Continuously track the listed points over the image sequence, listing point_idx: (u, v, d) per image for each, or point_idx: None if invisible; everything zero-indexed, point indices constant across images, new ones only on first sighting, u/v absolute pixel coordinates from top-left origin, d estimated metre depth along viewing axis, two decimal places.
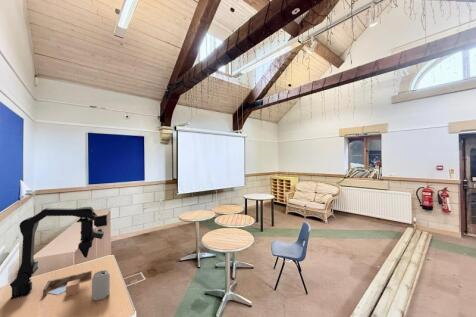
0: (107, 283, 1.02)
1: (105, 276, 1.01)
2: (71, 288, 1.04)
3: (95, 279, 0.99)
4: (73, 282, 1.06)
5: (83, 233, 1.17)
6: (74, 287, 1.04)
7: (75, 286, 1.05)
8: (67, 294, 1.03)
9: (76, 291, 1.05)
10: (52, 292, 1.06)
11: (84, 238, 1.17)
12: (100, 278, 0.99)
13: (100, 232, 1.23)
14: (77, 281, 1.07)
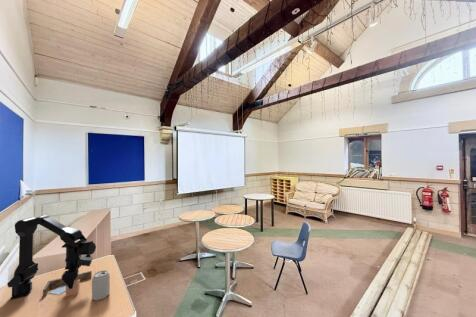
0: (107, 283, 1.02)
1: (105, 276, 1.01)
2: None
3: (95, 279, 0.99)
4: None
5: (68, 261, 1.04)
6: (74, 287, 1.04)
7: (75, 286, 1.05)
8: (67, 294, 1.03)
9: (76, 291, 1.05)
10: (52, 292, 1.06)
11: (69, 266, 1.04)
12: (100, 278, 0.99)
13: (88, 258, 1.10)
14: (77, 281, 1.07)
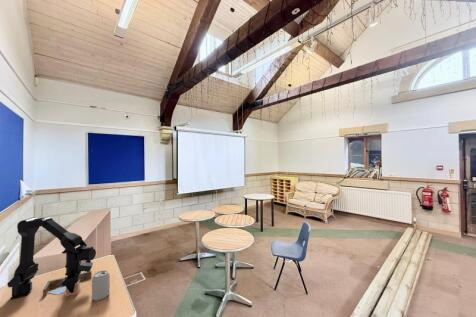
0: (107, 283, 1.02)
1: (105, 276, 1.01)
2: None
3: (95, 279, 0.99)
4: None
5: (68, 267, 1.04)
6: (74, 287, 1.04)
7: (75, 286, 1.05)
8: (67, 294, 1.03)
9: (76, 291, 1.05)
10: (52, 292, 1.06)
11: (69, 272, 1.04)
12: (100, 278, 0.99)
13: (88, 264, 1.10)
14: None
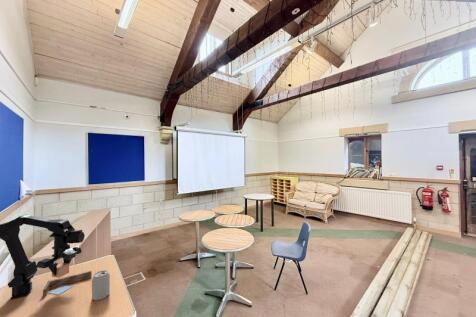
0: (107, 283, 1.02)
1: (105, 276, 1.01)
2: None
3: (95, 279, 0.99)
4: (61, 265, 1.08)
5: None
6: None
7: (57, 270, 1.05)
8: (52, 275, 1.06)
9: (58, 275, 1.05)
10: (52, 292, 1.06)
11: (54, 255, 1.06)
12: (100, 278, 0.99)
13: (70, 251, 1.07)
14: (63, 265, 1.08)
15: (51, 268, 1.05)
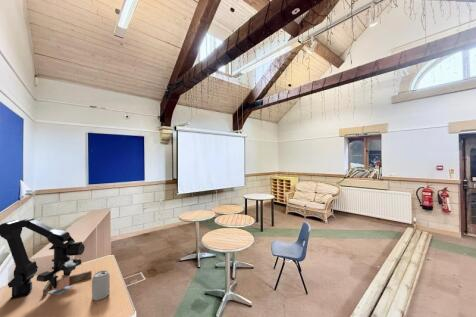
0: (107, 283, 1.02)
1: (105, 276, 1.01)
2: None
3: (95, 279, 0.99)
4: (61, 277, 1.08)
5: (53, 261, 1.06)
6: None
7: (57, 283, 1.05)
8: (52, 287, 1.06)
9: (58, 288, 1.05)
10: (52, 292, 1.06)
11: (54, 267, 1.06)
12: (100, 278, 0.99)
13: (70, 264, 1.07)
14: (63, 277, 1.08)
15: (51, 281, 1.04)
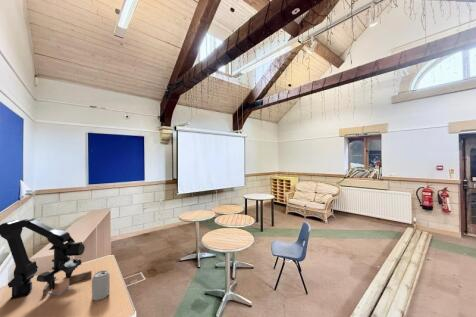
0: (107, 283, 1.02)
1: (105, 276, 1.01)
2: (55, 286, 1.06)
3: (95, 279, 0.99)
4: (61, 280, 1.08)
5: None
6: (56, 286, 1.05)
7: (57, 285, 1.05)
8: (52, 290, 1.06)
9: (58, 290, 1.05)
10: (52, 292, 1.06)
11: (54, 268, 1.06)
12: (100, 278, 0.99)
13: (70, 264, 1.07)
14: (63, 280, 1.08)
15: (49, 282, 1.04)
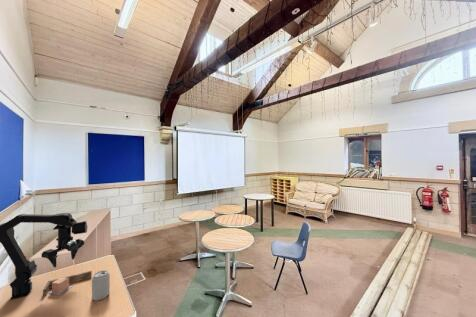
0: (107, 283, 1.02)
1: (105, 276, 1.01)
2: (55, 286, 1.06)
3: (95, 279, 0.99)
4: (61, 280, 1.08)
5: (57, 240, 1.12)
6: (56, 286, 1.05)
7: (57, 285, 1.05)
8: (52, 290, 1.06)
9: (58, 290, 1.05)
10: (52, 292, 1.06)
11: (58, 246, 1.11)
12: (100, 278, 0.99)
13: (72, 243, 1.12)
14: (63, 280, 1.08)
15: (51, 260, 1.08)
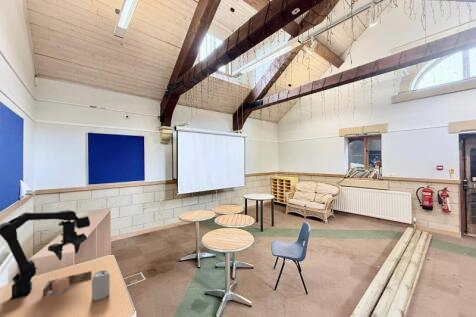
0: (107, 283, 1.02)
1: (105, 276, 1.01)
2: (55, 286, 1.06)
3: (95, 279, 0.99)
4: (61, 280, 1.08)
5: (62, 235, 1.20)
6: (56, 286, 1.05)
7: (57, 285, 1.05)
8: (52, 290, 1.06)
9: (58, 290, 1.05)
10: (52, 292, 1.06)
11: (62, 240, 1.19)
12: (100, 278, 0.99)
13: (77, 237, 1.20)
14: (63, 280, 1.08)
15: (57, 253, 1.16)
